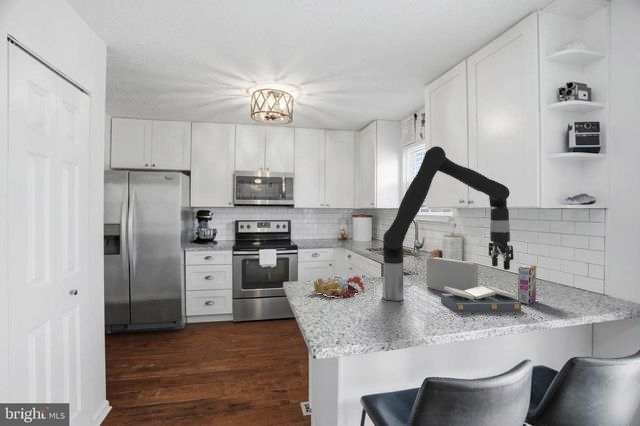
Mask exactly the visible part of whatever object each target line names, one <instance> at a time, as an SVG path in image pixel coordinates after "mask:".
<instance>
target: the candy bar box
mask: <svg viewBox="0 0 640 426" xmlns="http://www.w3.org/2000/svg"><path fill="white" fill-rule="evenodd" d="M517 284H518V287H517V288H518V291H517V292H518V293H517V294H518V295H517V296H518V298H517V300H519V301H521V305H527V306H530V305H532V304H533V303H534V302H535V301H536V299H537V295H536V293H537V265H532V264H524V265H521V266H518V283H517Z"/></svg>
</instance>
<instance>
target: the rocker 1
mask: <svg viewBox="0 0 640 426" xmlns="http://www.w3.org/2000/svg"><path fill="white" fill-rule="evenodd" d="M444 289H445V290H447V291H449V292H451V293H450V294H454V295H458V296H462V297H466V298H470V299H474V296H472V295H470V294H468V293H466V292H464V291H462V290H458V289H454V288H450V287H446V286H444Z"/></svg>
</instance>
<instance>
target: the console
mask: <svg viewBox="0 0 640 426" xmlns="http://www.w3.org/2000/svg"><path fill="white" fill-rule="evenodd" d="M440 303H441V304H442V305H444V306H446V307H447V308H448V309H450V310H451V311H453V312H455V313H463V312H465V313H467V312H469V313H470V312H477V313H478V312H521V311H522V304H521V301H519V300H518V298H517V299H516V298H512V297H508V296H504V295H500V294H497V293H496V294H494V295H491V296H487V297H484V298H480V299H475V298H474V299H470V298H466V297H462V296H458V295H454V294H452V293H440Z"/></svg>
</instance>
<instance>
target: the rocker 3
mask: <svg viewBox="0 0 640 426" xmlns="http://www.w3.org/2000/svg"><path fill="white" fill-rule="evenodd" d="M484 287H486V288H488V289H491V290H493V291H495V293H497V294H500V295H504V296H508V297H512V298H514V299H517V300H518V295H515V294H514V293H511V292H508V291H505V290H503V289H499V288H496V287H492V286H488V285H484Z"/></svg>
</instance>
